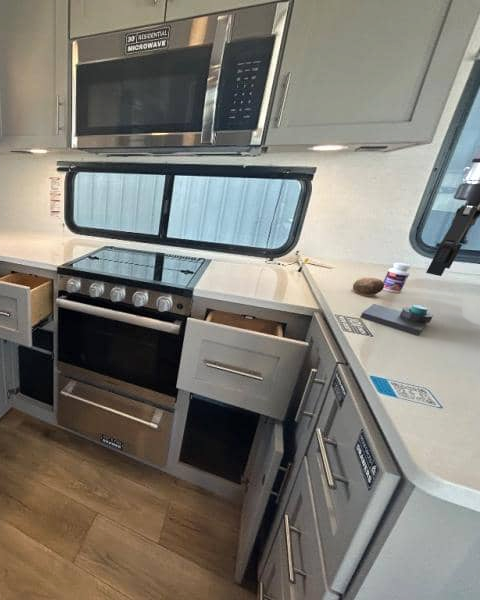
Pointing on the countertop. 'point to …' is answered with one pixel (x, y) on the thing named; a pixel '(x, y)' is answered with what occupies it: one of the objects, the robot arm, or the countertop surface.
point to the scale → (397, 318)
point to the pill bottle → (396, 277)
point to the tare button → (419, 309)
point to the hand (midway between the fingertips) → (438, 270)
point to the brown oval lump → (368, 286)
